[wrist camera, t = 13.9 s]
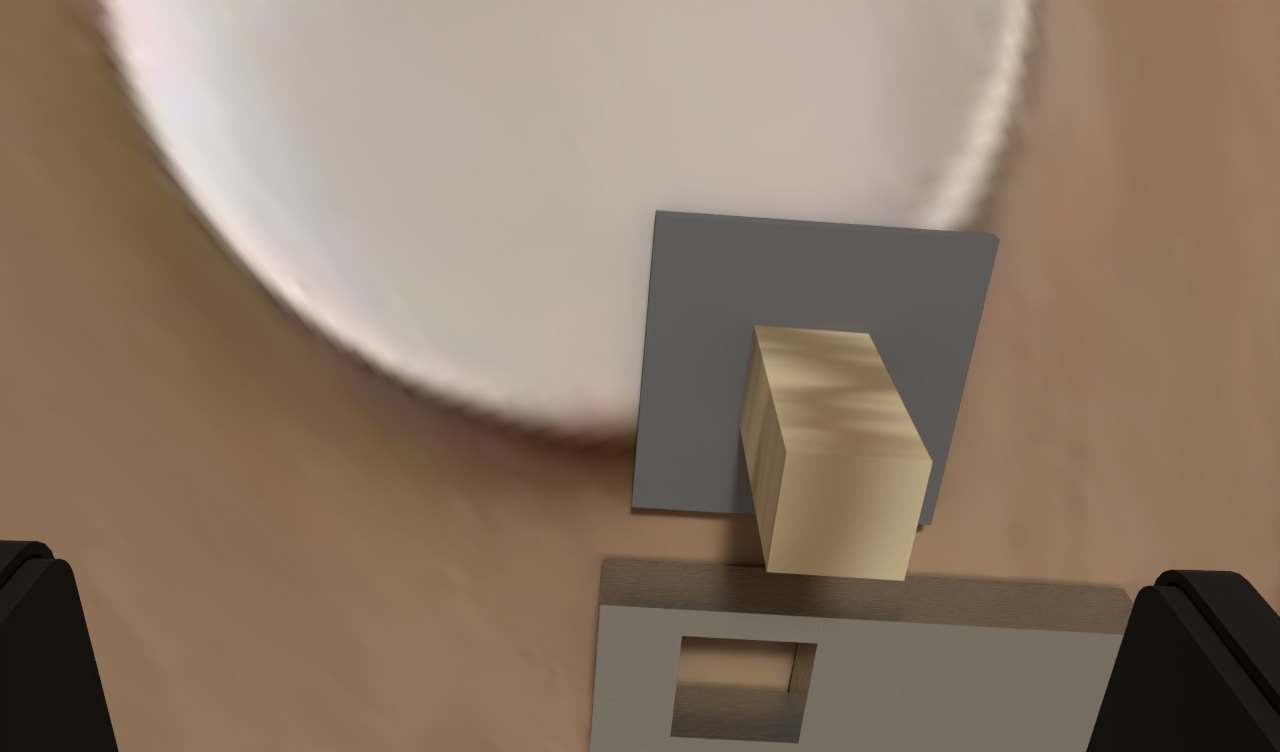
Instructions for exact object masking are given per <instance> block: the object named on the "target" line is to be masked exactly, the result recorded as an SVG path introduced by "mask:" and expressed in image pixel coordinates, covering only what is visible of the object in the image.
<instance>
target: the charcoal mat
mask: <svg viewBox="0 0 1280 752" xmlns="http://www.w3.org/2000/svg"><path fill="white" fill-rule="evenodd" d="M998 244H999V239H998V238H997V237H996V236H995V235H994V234H983V233H969V232H954V231H940V230H926V229H912V228H898V227H884V226H869V225H855V224H841V223H827V222H813V221H798V220H784V219H770V218H756V217H742V216H728V215H713V214H699V213H685V212H671V211H657V210H656V215H655V227H654V239H653V251H652V263H651V275H650V287H649V299H648V311H647V323H646V335H645V347H644V359H643V371H642V383H641V395H640V407H639V419H638V431H637V443H636V455H635V467H634V479H633V491H632V507H636V508H653V509H669V510H686V511H703V512H719V513H736V514H752V515H756V511H755V506H754V501H753V495H752V490H751V484H750V479H749V473H748V468H747V463H746V457H745V452H744V446H743V441H742V435H741V430H740V422H741V414H742V407H743V400H744V393H745V386H746V379H747V372H748V365H749V358H750V351H751V344H752V337H753V330H754V325H756V326H770V327H784V328H797V329H811V330H825V331H839V332H852V333H866V334H869V335H870V337H871V339H872V341H873V343H874V345H875V347H876V349H877V351H878V353H879V356H880V358H881V360H882V362H883V364H884V366H885V368H886V370H887V372H888V374H889V376H890V378H891V380H892V382H893V384H894V386H895V388H896V390H897V392H898V394H899V396H900V398H901V400H902V402H903V404H904V406H905V408H906V410H907V412H908V414H909V416H910V418H911V420H912V422H913V424H914V426H915V428H916V430H917V432H918V434H919V436H920V438H921V440H922V442H923V444H924V446H925V448H926V450H927V452H928V454H929V456H930V458H931V460H932V462H933V463H932V467H931V471H930V475H929V479H928V483H927V488H926V492H925V496H924V500H923V504H922V508H921V512H920V517H919V521H918V524H919V525H931V522H932V518H933V514H934V510H935V506H936V502H937V497H938V493H939V489H940V485H941V481H942V477H943V472H944V468H945V464H946V460H947V456H948V452H949V448H950V443H951V439H952V435H953V431H954V427H955V423H956V418H957V414H958V410H959V406H960V402H961V398H962V393H963V389H964V385H965V381H966V377H967V373H968V368H969V364H970V360H971V356H972V352H973V348H974V344H975V339H976V335H977V331H978V327H979V323H980V319H981V314H982V310H983V306H984V302H985V298H986V294H987V289H988V285H989V281H990V277H991V273H992V269H993V264H994V260H995V256H996V252H997V248H998Z"/></svg>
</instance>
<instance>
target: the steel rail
mask: <svg viewBox="0 0 1280 752" xmlns="http://www.w3.org/2000/svg"><path fill="white" fill-rule="evenodd" d="M1133 605H1134V603H1133V602H1132V600H1131V599H1130V597H1129V596H1128V594H1127V593H1126V591H1125V590H1124V589H1120V588H1103V587H1086V586H1069V585H1052V584H1034V583H1017V582H1000V581H983V580H966V579H949V578H932V577H915V576H905V579H904V581H899V580H883V579H868V578H852V577H836V576H821V575H805V574H789V573H773V572H767V571H766V568H760V567H743V566H726V565H709V564H692V563H675V562H658V561H641V560H623V559H606V558H603V561H602V575H601V589H600V603H599V617H598V632H597V646H596V660H595V674H594V688H593V702H592V721H591V740H590V752H1086V750H1087V747H1088V744H1089V741H1090V738H1091V735H1092V732H1093V728H1094V725H1095V722H1096V719H1097V716H1098V713H1099V710H1100V707H1101V704H1102V701H1103V698H1104V694H1105V691H1106V688H1107V685H1108V682H1109V679H1110V676H1111V673H1112V670H1113V667H1114V664H1115V660H1116V657H1117V654H1118V651H1119V648H1120V645H1121V642H1122V639H1123V636H1124V633H1125V629H1126V626H1127V623H1128V620H1129V617H1130V614H1131V611H1132V608H1133ZM682 636H693V637H710V638H728V639H746V640H764V641H782V642H798V644H797V650H796V655H795V661H794V666H793V672H792V677H791V683H790V688H789V692H779V691H761V690H742V689H724V688H705V687H687V686H676V683H677V674H678V666H679V657H680V649H681V640H682Z"/></svg>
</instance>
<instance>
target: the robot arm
mask: <svg viewBox="0 0 1280 752" xmlns="http://www.w3.org/2000/svg"><path fill="white" fill-rule="evenodd" d="M0 752H119V751H118V747H117V743H116V740H115V736H114V732H113V728H112V724H111V720H110V716H109V712H108V708H107V704H106V700H105V696H104V692H103V688H102V684H101V680H100V676H99V672H98V668H97V664H96V661H95V657H94V653H93V649H92V645H91V641H90V637H89V633H88V629H87V625H86V621H85V617H84V613H83V609H82V605H81V601H80V597H79V593H78V589H77V585H76V581H75V578H74V574H73V571H72V569H71V566H70V565H69V564H68V563H67V562H66V561H65V560H62V559H54V556H53V554H52V551H51V550H50V549H49V548H48V547H47V545H46V544H44V543H41V542H38V541H5V540H0ZM1086 752H1280V617H1279V616H1278V615H1277V613H1276V612H1275V611H1274V610H1273V609H1272V608H1271V606H1270V605H1269V604H1268V603H1267V602H1266V601H1265V600H1264V598H1263V597H1262V596H1261V595H1260V594H1259V593H1258V592H1257V590H1256V589H1255V588H1254V587H1253V586H1252V585H1251V584H1250V582H1249V581H1248V580H1246V579H1245V578H1244V577H1243V576H1242V575H1240V574H1238V573H1235V572H1232V571H1203V570H1169V571H1165V572H1163V573H1162V574H1161V575H1160V576H1159V577H1158V578H1157V580H1156V582H1155V584H1154V586H1146V587H1143V588H1142V589H1141V590H1140V591H1139V592H1138V595H1137V597H1136V599H1135V602H1134V605H1133V608H1132V611H1131V614H1130V617H1129V620H1128V623H1127V626H1126V629H1125V633H1124V636H1123V639H1122V642H1121V645H1120V648H1119V651H1118V654H1117V657H1116V660H1115V664H1114V667H1113V670H1112V673H1111V676H1110V679H1109V682H1108V685H1107V688H1106V691H1105V694H1104V698H1103V701H1102V704H1101V707H1100V710H1099V713H1098V716H1097V719H1096V722H1095V725H1094V728H1093V732H1092V735H1091V738H1090V741H1089V744H1088V747H1087V750H1086Z"/></svg>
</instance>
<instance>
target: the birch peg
mask: <svg viewBox="0 0 1280 752" xmlns="http://www.w3.org/2000/svg"><path fill="white" fill-rule="evenodd" d="M740 430H741V435H742V441H743V446H744V452H745V457H746V463H747V468H748V473H749V479H750V484H751V490H752V495H753V501H754V506H755V511H756V517H757V522H758V528H759V533H760V539H761V544H762V549H763V555H764V560H765V566H766V571H767V572H773V573H789V574H805V575H821V576H836V577H852V578H868V579H883V580H899V581H904V579H905V575H906V570H907V566H908V562H909V558H910V554H911V550H912V546H913V541H914V537H915V533H916V529H917V525H918V521H919V517H920V512H921V508H922V504H923V500H924V496H925V492H926V488H927V483H928V479H929V475H930V471H931V467H932V463H933V462H932V460H931V458H930V456H929V454H928V452H927V450H926V448H925V446H924V444H923V442H922V440H921V438H920V436H919V434H918V432H917V430H916V428H915V426H914V424H913V422H912V420H911V418H910V416H909V414H908V412H907V410H906V408H905V406H904V404H903V402H902V400H901V398H900V396H899V394H898V392H897V390H896V388H895V386H894V384H893V382H892V380H891V378H890V376H889V374H888V372H887V370H886V368H885V366H884V364H883V362H882V360H881V358H880V356H879V353H878V351H877V349H876V347H875V345H874V343H873V341H872V339H871V337H870V335H869V334H866V333H852V332H839V331H825V330H811V329H797V328H784V327H770V326H756V325H754V330H753V337H752V344H751V351H750V358H749V365H748V372H747V379H746V386H745V393H744V400H743V407H742V414H741V422H740Z"/></svg>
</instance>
